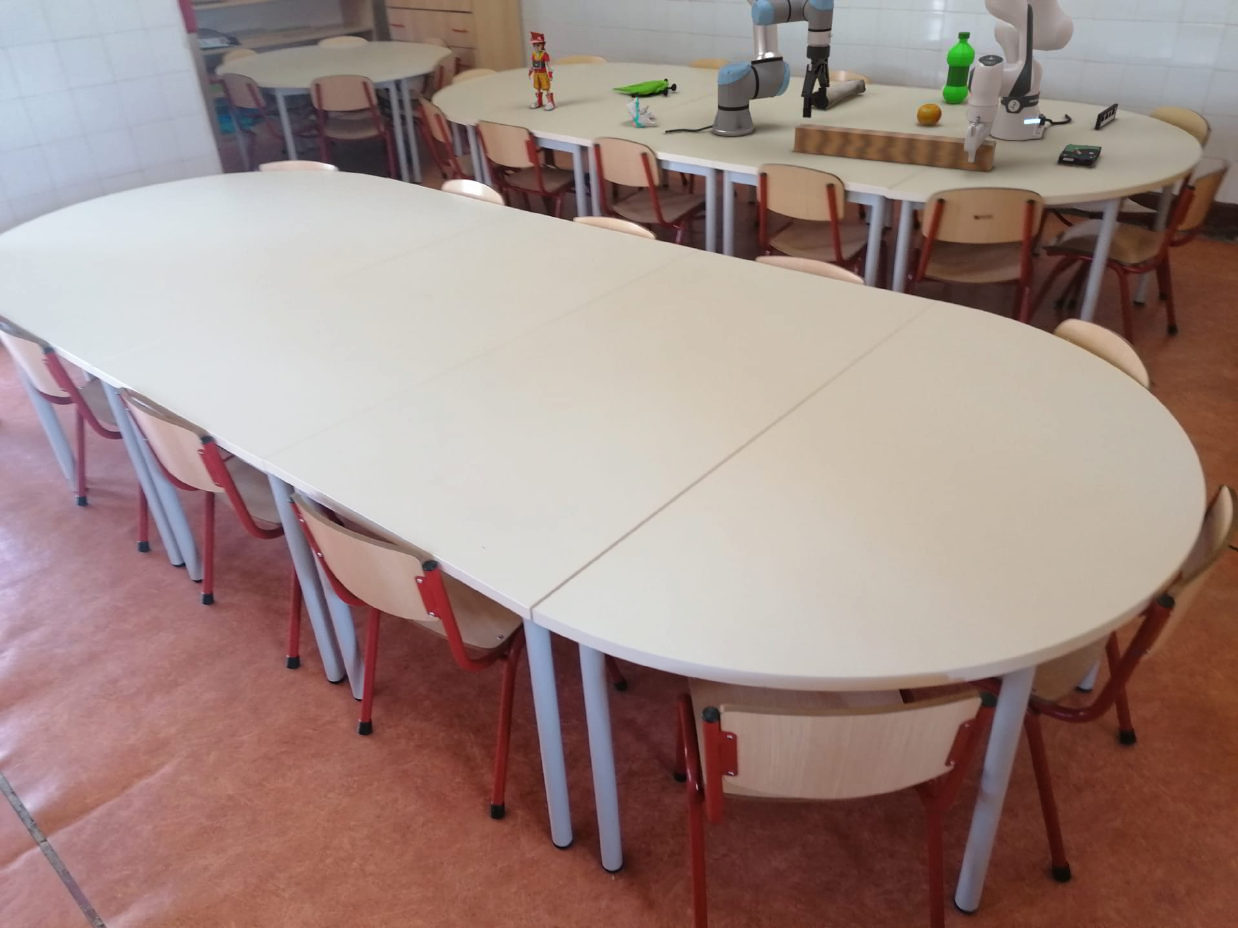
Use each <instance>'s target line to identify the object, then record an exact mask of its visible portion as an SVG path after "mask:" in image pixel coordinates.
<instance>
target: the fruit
mask: <svg viewBox="0 0 1238 928" xmlns="http://www.w3.org/2000/svg"><path fill="white" fill-rule="evenodd" d="M942 116H943V111H942V109H941V107H940V106H939V105H937V104H936V103H926V104H923V105H921V106H920V107H919V108H918V110H917V112H916V119H917V121H918V122H919V123H920V124H921V125H923V126H932V125H935V124H937V123H938V122H939V121H940V120H941V118H942Z"/></svg>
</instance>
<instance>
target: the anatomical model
mask: <svg viewBox="0 0 1238 928" xmlns="http://www.w3.org/2000/svg"><path fill="white" fill-rule="evenodd" d="M625 106H626V109H627V113H628V114H629V116H631V118H632V120H633V121H634V123H635V125H636V126H637V127H639V128H644V127H645V126H655V125H657V121H652V120H651V119H654V117H655V114H654V113H652V111H648V109H649V108H650V105H645V106H644V107H642V108H640V100H639V98H638V97H634V98H633V100H632V101H631V102H628V103H626V105H625Z"/></svg>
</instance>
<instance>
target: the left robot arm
mask: <svg viewBox="0 0 1238 928" xmlns="http://www.w3.org/2000/svg"><path fill="white" fill-rule="evenodd" d="M746 1H747V3H748V4H749V5H750V6H751V11H750V14H751V19H752V33H753V34H752V35H753V49H754V55H753V57H752V58H751V60H750V62H749V61H739V62H738V61H734V62H730V63H727V64H724V65H723V66H721V67H720V68H719V70H718V75H717V82H716V83H717V111H716V114H715V118H714V120H713V124H711V125H708V126H703V127H702V128H695V129H694V128H693V129H692V128H675V129H667V130H664V133H665V134H669V133H676V132H689V133H697V132H701V131H705V130H708V129H712V133H713V134H715V135H717V136H721V137H741V136H746V135H750V134H752V133H754V127H755V126H754V122H753V118H752V115H751V111H750V101H754V100H760V99H768V98H775V97H780V96H782V95H784V94H785V93H786V91H787V89H788V87H789V85H790V81H791V68H790V66H789V65H790V64H789V63H788V62H787V61H785V60H784V56H783V55H782V53H780V52H779V41H778V40H779V36H778V25H779V24H788V23H798V22H807V24H808V25H807V26H808V27H807V38H806V43H807V46H806V55H805V56H806V58H807V59H809V60H810V63H807V64H806V67H805V68H806V70H805V76H804V80H803V85H802V90H801V93H800V97H801V98H803V103H802V104H803V106H802V118H803V119H804V118H805V119H812V111H813V106H812V97H811V96H812V93H813V92H814V89H815V85H816V83H817V82H818V85H819V87H818V88H817V91H818V101H817V108H816V109H818V108H825V105H826V92H827V87H830V86H831V83H830V71H829V58H830V56H831V45H830V44H831V41H832V37H833V36H834V35H833V33H832V28H833V20H834V9H835V0H746Z"/></svg>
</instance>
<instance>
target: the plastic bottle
mask: <svg viewBox="0 0 1238 928" xmlns="http://www.w3.org/2000/svg"><path fill="white" fill-rule="evenodd" d="M970 36H971V32H970V31H959V32H958V36H957V39H958V42H957V43H956V44H954V45H953V46H952V47H951V48H950V49H949V50H948V52H947V54H946V63H947V64H948V69H947V70H948V71H947V76H946V77H947V78H946V84H945V85H944V87H943V90H942V97H943V99H944V100H945V101H946V102H947V103H948V104H960V103H961V102H963V101H964V100H966V98H967V96H968V95H969V90H968V81H969V75H970V67H971V65H972V64H973V63H974V61H975V57H976V51H975V49H974V47H972V45H971V44H970V43H969V42H968V41H969V39H970V38H971V37H970Z"/></svg>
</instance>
